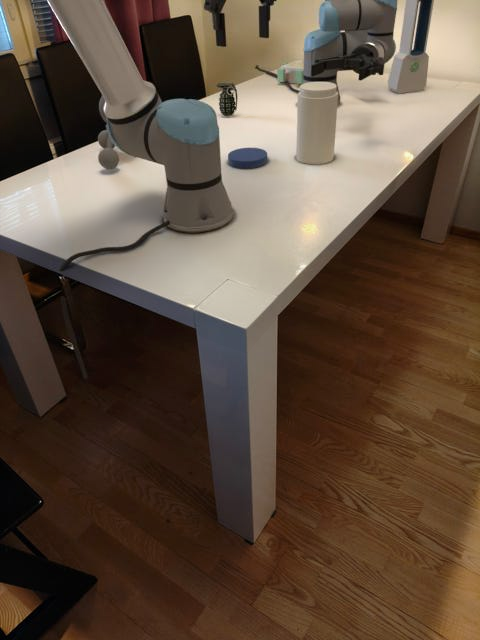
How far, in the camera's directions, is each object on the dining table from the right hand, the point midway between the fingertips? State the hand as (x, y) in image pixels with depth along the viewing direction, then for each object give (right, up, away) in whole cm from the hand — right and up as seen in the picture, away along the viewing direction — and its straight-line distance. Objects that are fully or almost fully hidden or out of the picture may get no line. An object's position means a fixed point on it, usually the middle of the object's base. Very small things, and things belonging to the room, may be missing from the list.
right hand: (335, 72), depth 128 cm
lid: (-23, -20, +4) cm, 31 cm away
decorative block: (+3, +38, +79) cm, 88 cm away
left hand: (-24, +1, -12) cm, 27 cm away
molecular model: (-56, -17, +14) cm, 60 cm away
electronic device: (+38, +22, +57) cm, 72 cm away
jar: (-5, -21, +5) cm, 22 cm away
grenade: (-29, +6, +41) cm, 51 cm away
